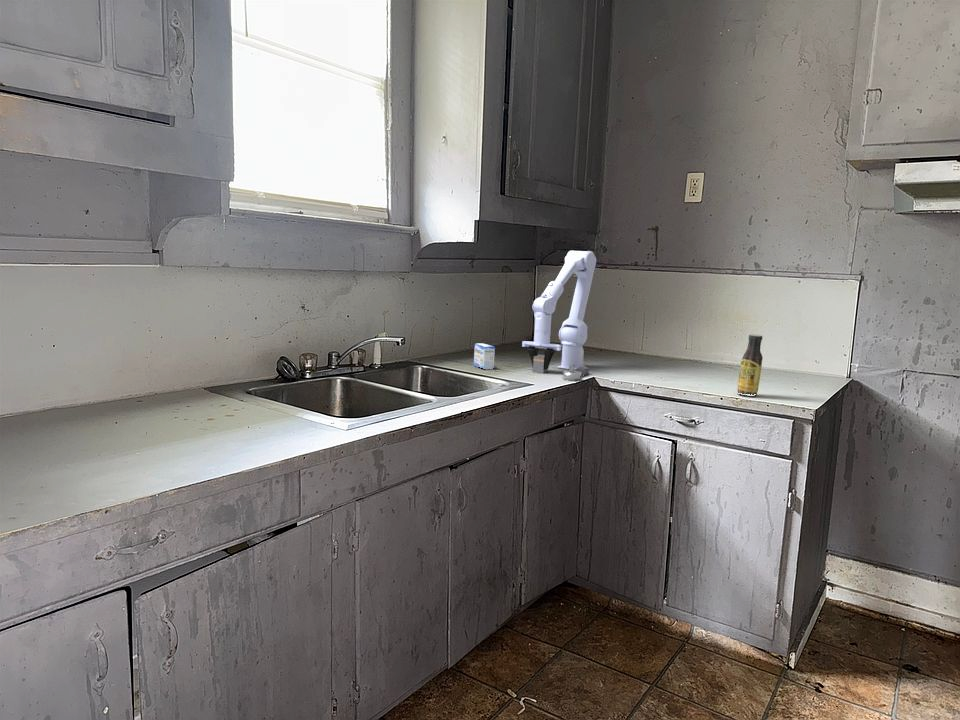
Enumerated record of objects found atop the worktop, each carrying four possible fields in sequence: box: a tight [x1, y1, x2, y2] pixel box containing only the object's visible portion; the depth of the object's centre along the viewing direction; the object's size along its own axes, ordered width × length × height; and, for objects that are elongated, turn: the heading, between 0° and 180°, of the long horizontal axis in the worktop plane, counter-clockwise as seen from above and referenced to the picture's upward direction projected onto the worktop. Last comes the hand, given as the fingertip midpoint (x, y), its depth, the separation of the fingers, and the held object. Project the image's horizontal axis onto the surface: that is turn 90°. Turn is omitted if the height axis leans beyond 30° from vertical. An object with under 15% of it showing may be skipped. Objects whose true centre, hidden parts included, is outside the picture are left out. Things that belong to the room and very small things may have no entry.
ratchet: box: [562, 365, 590, 382], centre depth 234 cm, size 18×6×5 cm, turn 153°
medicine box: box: [473, 342, 496, 370], centre depth 244 cm, size 8×4×9 cm, turn 28°
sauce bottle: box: [736, 333, 763, 395], centre depth 213 cm, size 7×6×20 cm
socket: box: [532, 354, 548, 374], centre depth 241 cm, size 4×4×6 cm
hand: (540, 368), depth 241 cm, fingers closed on socket, 4 cm apart
